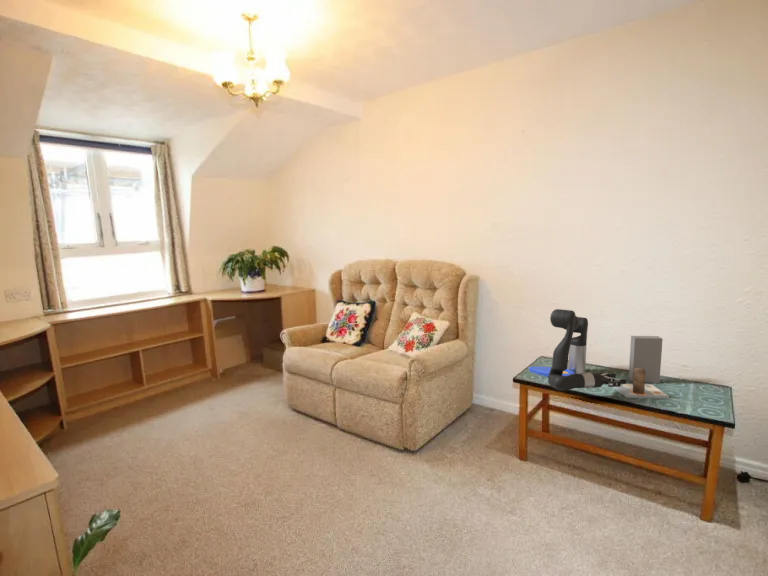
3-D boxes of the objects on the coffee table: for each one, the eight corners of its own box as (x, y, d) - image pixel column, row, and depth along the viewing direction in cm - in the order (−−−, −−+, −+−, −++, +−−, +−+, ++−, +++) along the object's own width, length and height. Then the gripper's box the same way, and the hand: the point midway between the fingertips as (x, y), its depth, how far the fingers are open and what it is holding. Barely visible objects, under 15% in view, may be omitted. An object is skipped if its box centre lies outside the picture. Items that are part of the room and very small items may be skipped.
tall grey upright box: (654, 379, 230) (657, 335, 227) (659, 383, 224) (663, 338, 221) (627, 378, 233) (630, 335, 229) (632, 382, 227) (634, 338, 223)
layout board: (612, 385, 223) (612, 383, 222) (651, 386, 221) (651, 383, 220) (626, 397, 207) (626, 394, 207) (668, 398, 205) (669, 395, 205)
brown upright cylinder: (630, 390, 212) (632, 368, 211) (641, 390, 212) (642, 368, 210) (635, 394, 207) (637, 371, 206) (646, 394, 207) (647, 371, 205)
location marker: (526, 375, 244) (572, 381, 230) (526, 369, 244) (572, 376, 230) (532, 368, 255) (576, 374, 241) (532, 363, 255) (576, 369, 241)
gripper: (598, 378, 199) (630, 376, 200) (582, 368, 213) (612, 366, 214) (597, 392, 200) (629, 391, 201) (581, 382, 214) (611, 380, 215)
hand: (620, 378), depth 208 cm, fingers open, 8 cm apart
